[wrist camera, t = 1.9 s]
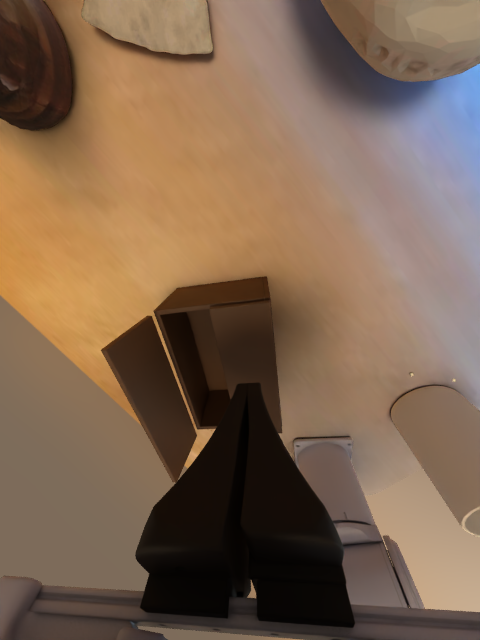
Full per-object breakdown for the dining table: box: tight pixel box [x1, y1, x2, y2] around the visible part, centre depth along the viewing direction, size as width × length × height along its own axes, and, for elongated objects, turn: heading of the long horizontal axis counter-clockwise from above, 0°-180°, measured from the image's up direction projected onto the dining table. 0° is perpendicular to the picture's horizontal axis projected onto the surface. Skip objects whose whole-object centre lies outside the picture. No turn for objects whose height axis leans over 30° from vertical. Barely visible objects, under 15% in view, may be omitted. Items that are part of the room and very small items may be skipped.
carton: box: [154, 277, 282, 433], centre depth 20 cm, size 14×9×6 cm, turn 9°
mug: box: [391, 386, 480, 537], centre depth 22 cm, size 12×8×10 cm, turn 37°
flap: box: [101, 316, 197, 483], centre depth 16 cm, size 14×4×1 cm
